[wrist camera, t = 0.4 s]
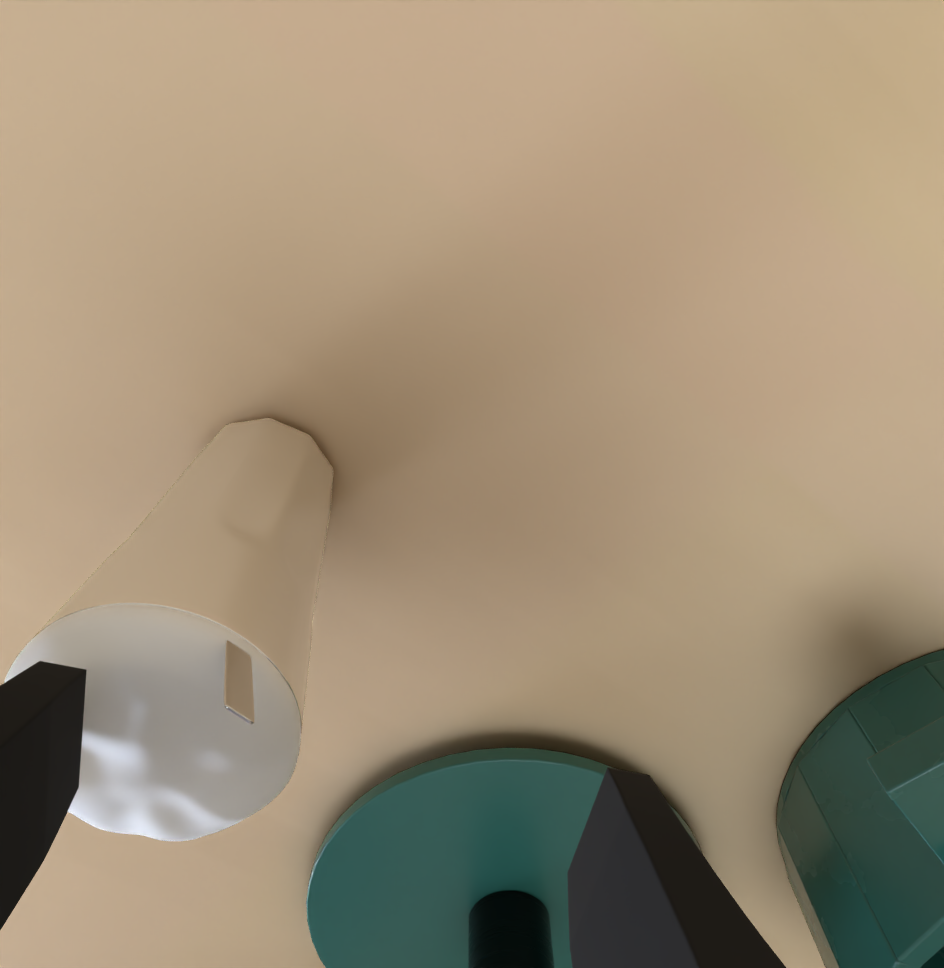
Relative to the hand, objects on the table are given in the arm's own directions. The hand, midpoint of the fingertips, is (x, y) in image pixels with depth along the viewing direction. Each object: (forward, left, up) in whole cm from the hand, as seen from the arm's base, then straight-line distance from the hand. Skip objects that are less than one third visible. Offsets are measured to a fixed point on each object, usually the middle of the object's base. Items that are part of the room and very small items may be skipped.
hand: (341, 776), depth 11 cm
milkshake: (0, +3, -10) cm, 10 cm away
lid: (-13, -5, -9) cm, 16 cm away
